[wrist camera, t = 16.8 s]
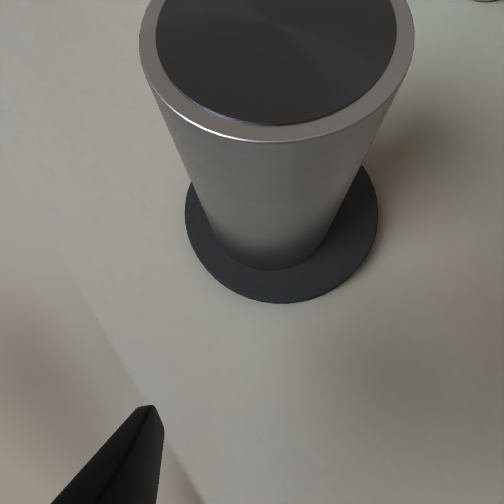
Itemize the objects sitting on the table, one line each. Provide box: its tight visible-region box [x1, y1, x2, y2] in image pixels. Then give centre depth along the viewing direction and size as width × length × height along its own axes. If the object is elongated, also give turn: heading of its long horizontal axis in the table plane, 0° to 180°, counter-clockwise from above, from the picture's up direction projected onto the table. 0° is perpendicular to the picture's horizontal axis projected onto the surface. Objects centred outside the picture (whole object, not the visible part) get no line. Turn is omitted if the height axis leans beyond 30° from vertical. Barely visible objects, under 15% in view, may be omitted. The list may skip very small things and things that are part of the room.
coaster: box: [185, 164, 378, 304], centre depth 17 cm, size 10×10×1 cm
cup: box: [139, 0, 414, 271], centre depth 12 cm, size 9×6×10 cm
